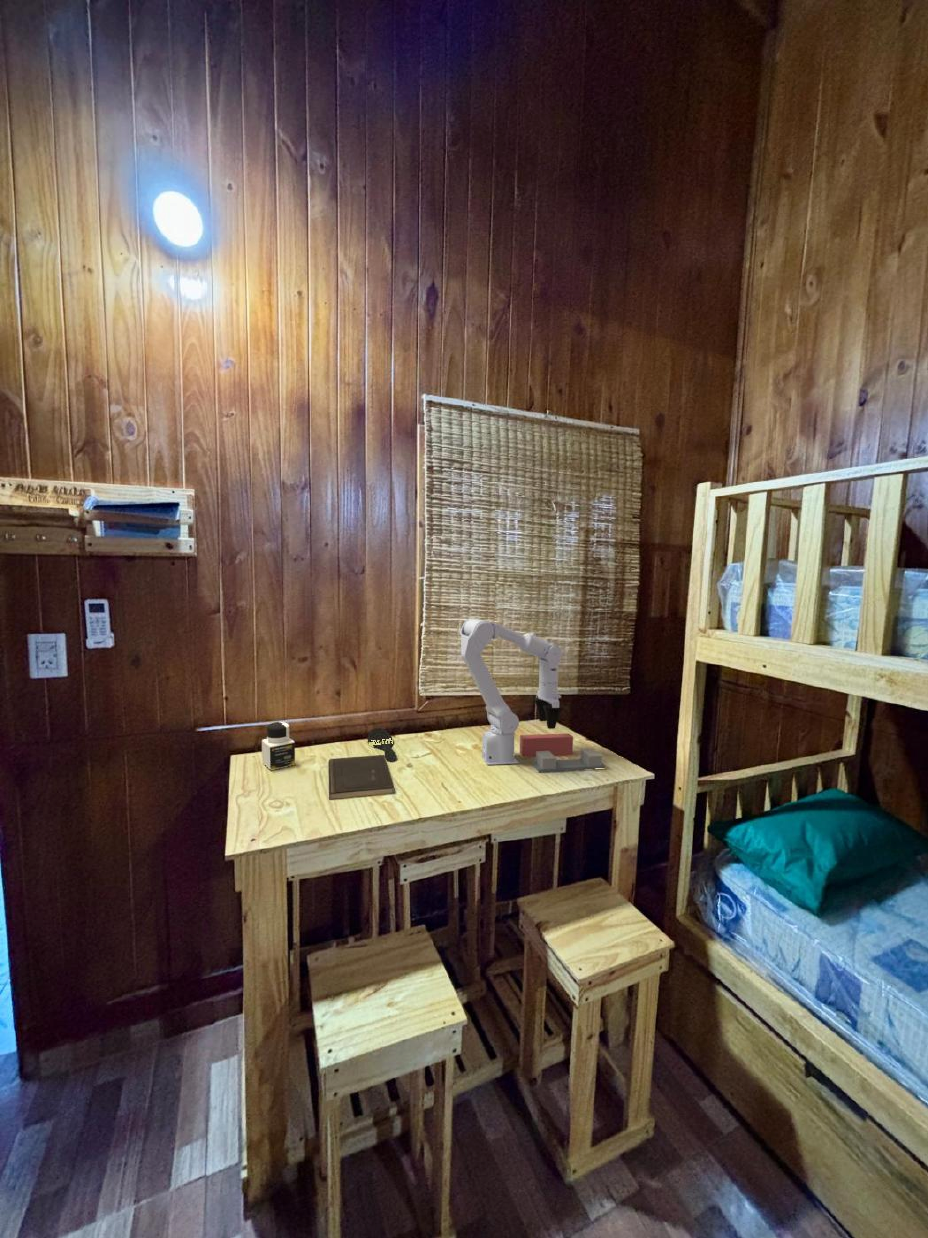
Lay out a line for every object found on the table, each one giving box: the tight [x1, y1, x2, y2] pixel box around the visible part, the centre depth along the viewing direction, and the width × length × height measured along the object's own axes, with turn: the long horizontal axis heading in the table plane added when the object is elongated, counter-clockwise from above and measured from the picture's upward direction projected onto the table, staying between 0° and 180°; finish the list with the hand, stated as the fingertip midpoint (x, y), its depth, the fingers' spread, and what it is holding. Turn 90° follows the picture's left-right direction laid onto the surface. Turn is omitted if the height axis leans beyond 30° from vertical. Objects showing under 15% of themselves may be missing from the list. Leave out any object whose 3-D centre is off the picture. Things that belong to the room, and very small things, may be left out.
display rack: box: [531, 748, 606, 773], centre depth 149 cm, size 20×6×4 cm, turn 100°
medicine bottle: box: [261, 721, 296, 771], centre depth 147 cm, size 7×7×12 cm
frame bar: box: [519, 733, 574, 758], centre depth 160 cm, size 16×4×6 cm, turn 99°
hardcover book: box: [327, 754, 395, 801], centre depth 139 cm, size 16×23×2 cm
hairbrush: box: [367, 725, 398, 763], centre depth 162 cm, size 8×4×25 cm
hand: (547, 724), depth 159 cm, fingers open, 7 cm apart
